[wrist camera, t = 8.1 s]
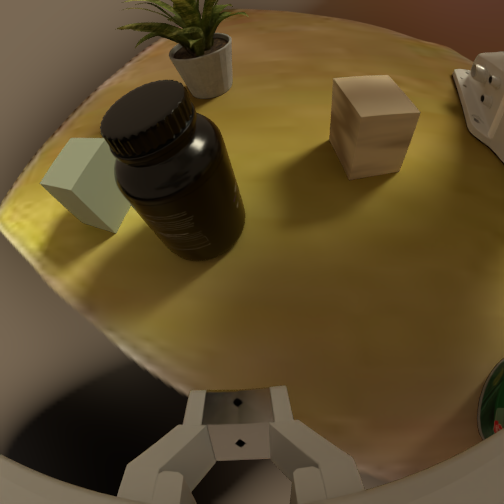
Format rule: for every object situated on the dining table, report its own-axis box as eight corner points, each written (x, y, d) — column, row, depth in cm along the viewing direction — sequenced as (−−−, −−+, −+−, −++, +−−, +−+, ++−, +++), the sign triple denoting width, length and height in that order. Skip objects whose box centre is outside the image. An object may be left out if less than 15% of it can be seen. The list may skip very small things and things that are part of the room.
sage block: (106, 181, 27) (70, 138, 21) (141, 187, 26) (105, 138, 20) (82, 222, 25) (39, 183, 19) (116, 233, 24) (71, 190, 18)
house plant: (207, 51, 36) (180, -39, 21) (290, 63, 31) (277, -50, 17) (139, 106, 32) (88, 3, 17) (225, 127, 27) (181, -23, 13)
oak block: (329, 139, 25) (333, 78, 19) (376, 133, 25) (388, 75, 19) (349, 180, 23) (361, 117, 17) (399, 171, 23) (420, 112, 16)
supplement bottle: (264, 211, 23) (236, 79, 12) (209, 280, 21) (127, 178, 10) (201, 177, 25) (150, 64, 14) (149, 235, 23) (64, 137, 13)
